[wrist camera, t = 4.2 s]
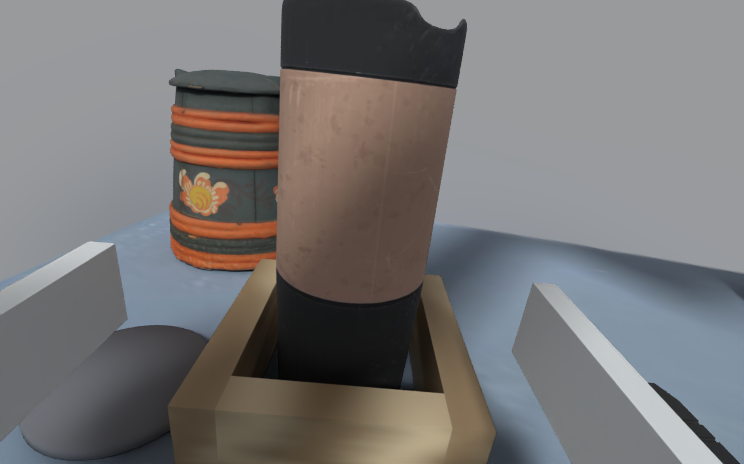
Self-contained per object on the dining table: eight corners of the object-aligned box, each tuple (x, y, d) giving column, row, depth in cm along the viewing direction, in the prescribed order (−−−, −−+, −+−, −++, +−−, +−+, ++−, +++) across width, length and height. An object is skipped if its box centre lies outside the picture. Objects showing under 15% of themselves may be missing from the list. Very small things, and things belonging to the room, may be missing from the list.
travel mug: (297, 339, 26) (309, 21, 19) (403, 357, 26) (460, 37, 18) (252, 432, 19) (244, -21, 12) (398, 459, 18) (487, 3, 11)
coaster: (235, 341, 25) (234, 331, 25) (167, 467, 17) (165, 455, 17) (101, 329, 25) (99, 319, 25) (-36, 453, 17) (-41, 440, 16)
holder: (429, 331, 29) (440, 275, 27) (470, 511, 17) (496, 432, 15) (261, 316, 28) (261, 258, 26) (178, 491, 16) (167, 406, 14)
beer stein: (363, 236, 45) (383, 59, 38) (331, 296, 32) (350, 40, 24) (221, 211, 48) (213, 40, 40) (135, 258, 34) (99, 14, 27)
